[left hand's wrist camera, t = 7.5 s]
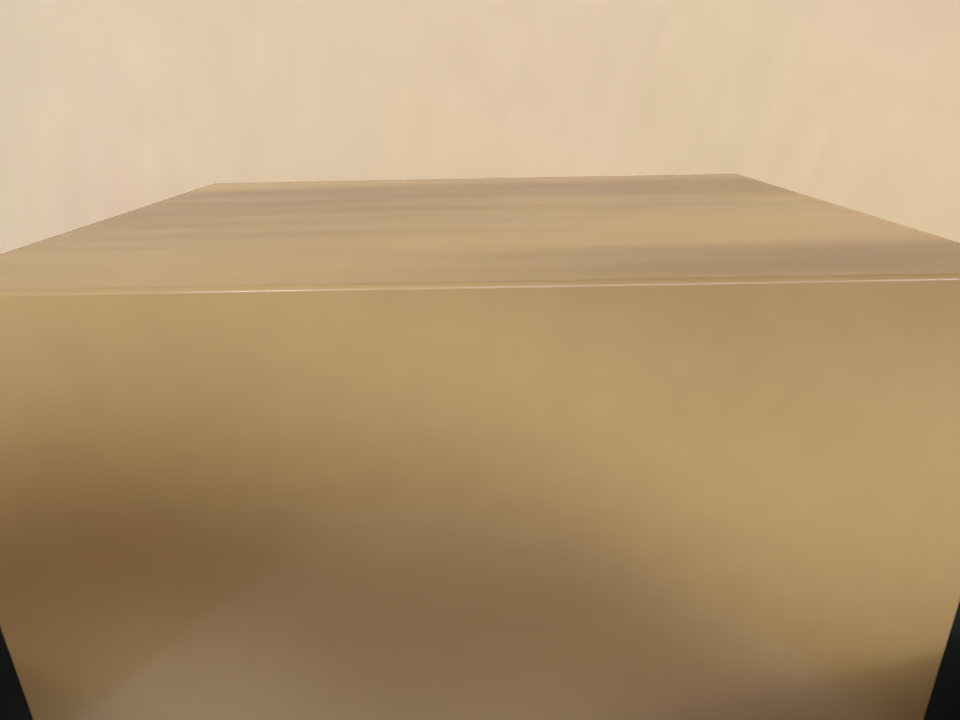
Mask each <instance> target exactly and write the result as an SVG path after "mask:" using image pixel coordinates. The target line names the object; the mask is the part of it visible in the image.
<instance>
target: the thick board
mask: <svg viewBox="0 0 960 720" xmlns="http://www.w3.org/2000/svg"><path fill="white" fill-rule="evenodd" d="M959 602H960V243H958V242H954V241H951V240H948V239H945V238H941V237H938V236H935V235H932V234H929V233H925V232H922V231H919V230H916V229H912V228H909V227H906V226H903V225H899V224H896V223H893V222H890V221H886V220H883V219H880V218H877V217H874V216H870V215H867V214H864V213H861V212H857V211H854V210H851V209H848V208H844V207H841V206H838V205H835V204H831V203H828V202H825V201H822V200H819V199H815V198H812V197H809V196H806V195H802V194H799V193H796V192H793V191H789V190H786V189H783V188H780V187H777V186H773V185H770V184H767V183H764V182H760V181H757V180H754V179H751V178H747V177H744V176H741V175H738V174H711V175H656V176H602V177H547V178H493V179H438V180H384V181H329V182H275V183H220V184H212V185H209V186H206V187H203V188H200V189H197V190H194V191H191V192H188V193H185V194H182V195H179V196H176V197H173V198H170V199H167V200H164V201H161V202H158V203H155V204H152V205H149V206H145V207H142V208H139V209H136V210H133V211H130V212H127V213H124V214H121V215H118V216H115V217H112V218H109V219H106V220H103V221H100V222H97V223H94V224H91V225H88V226H85V227H82V228H79V229H76V230H73V231H70V232H67V233H64V234H61V235H58V236H55V237H52V238H49V239H46V240H43V241H39V242H36V243H33V244H30V245H27V246H24V247H21V248H18V249H15V250H12V251H9V252H6V253H3V254H0V629H1V632H2V635H3V637H4V640H5V643H6V646H7V649H8V652H9V654H10V657H11V660H12V663H13V666H14V669H15V671H16V674H17V677H18V680H19V683H20V685H21V688H22V691H23V694H24V697H25V700H26V702H27V705H28V708H29V711H30V714H31V716H32V719H33V720H924V718H925V714H926V711H927V708H928V704H929V701H930V698H931V695H932V691H933V688H934V685H935V681H936V678H937V675H938V671H939V668H940V665H941V661H942V658H943V655H944V652H945V648H946V645H947V642H948V638H949V635H950V632H951V628H952V625H953V622H954V619H955V615H956V612H957V609H958V605H959Z"/></svg>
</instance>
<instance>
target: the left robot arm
mask: <svg viewBox="0 0 960 720" xmlns="http://www.w3.org/2000/svg"><path fill="white" fill-rule="evenodd" d="M0 720H33V719H32V716H31V714H30V711H29V708H28V705H27V702H26V700H25V697H24V694H23V691H22V688H21V685H20V683H19V680H18V677H17V674H16V671H15V669H14V666H13V663H12V660H11V657H10V654H9V652H8V649H7V646H6V643H5V640H4V637H3V635H2V632H1V629H0ZM924 720H960V602H959V605H958V609H957V612H956V615H955V619H954V622H953V625H952V628H951V632H950V635H949V638H948V642H947V645H946V648H945V652H944V655H943V658H942V661H941V665H940V668H939V671H938V675H937V678H936V681H935V685H934V688H933V691H932V695H931V698H930V701H929V704H928V708H927V711H926V714H925V718H924Z"/></svg>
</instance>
